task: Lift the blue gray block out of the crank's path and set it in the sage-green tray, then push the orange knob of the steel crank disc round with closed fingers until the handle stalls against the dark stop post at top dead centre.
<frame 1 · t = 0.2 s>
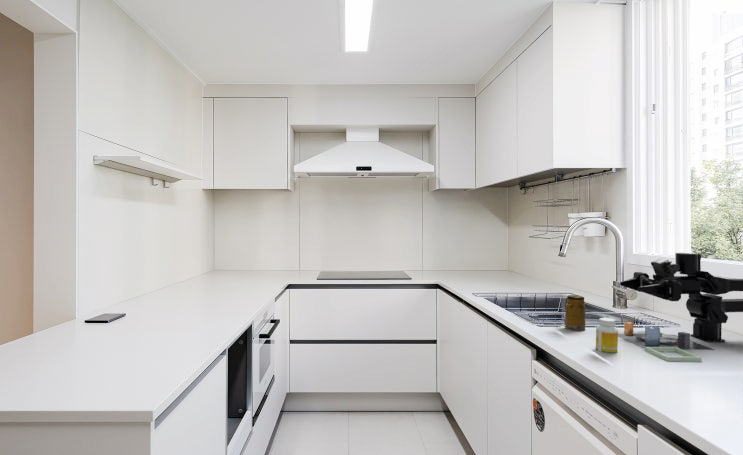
hand: (629, 286, 131), 17 cm above the countertop, tool horizontal, fingers open, 9 cm apart
blue gray block: (652, 346, 120), point 1 cm above the countertop, touching crank base
tray: (671, 358, 112), on the countertop
crank base: (656, 341, 128), on the countertop
condiment: (577, 332, 139), on the countertop
supplement bottle: (606, 353, 116), on the countertop
crank: (649, 330, 128), point 4 cm above the countertop, hinge at 0.0°
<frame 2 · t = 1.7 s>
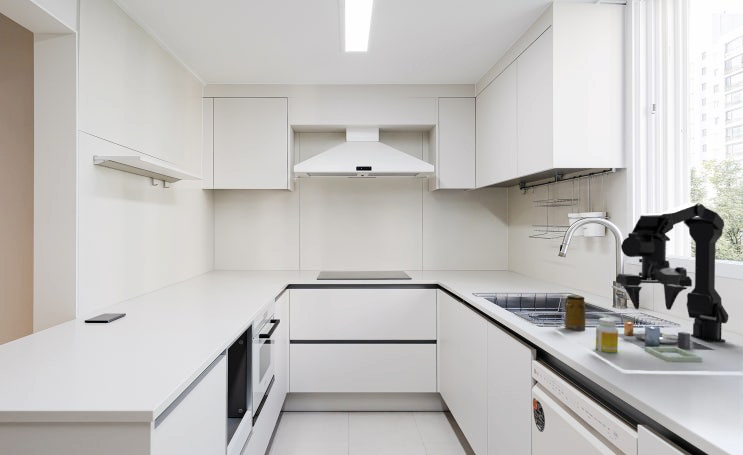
hand: (652, 309, 120), 12 cm above the countertop, tool pointing down, fingers open, 9 cm apart
nothing on the countertop moved.
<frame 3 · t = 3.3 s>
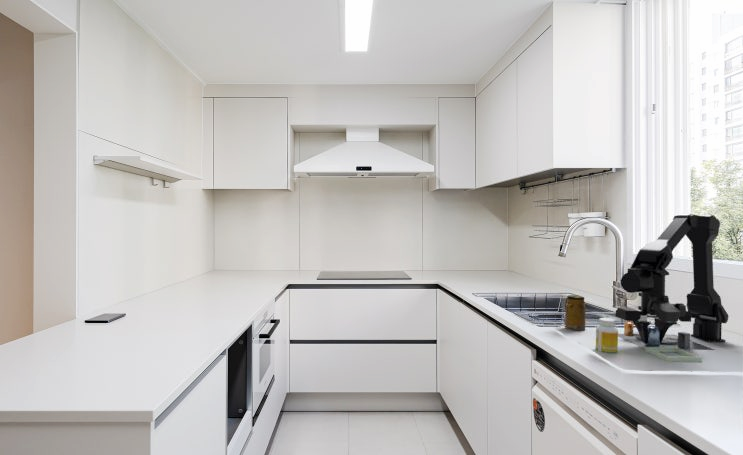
hand: (652, 343, 120), 2 cm above the countertop, tool pointing down, fingers closed on blue gray block, 4 cm apart
blue gray block: (652, 346, 120), point 1 cm above the countertop, touching crank base, gripper
everything else where it was.
when the fingers open (2 cm above the countertop, at t = 6.9 s): blue gray block drops 1 cm, resting on tray.
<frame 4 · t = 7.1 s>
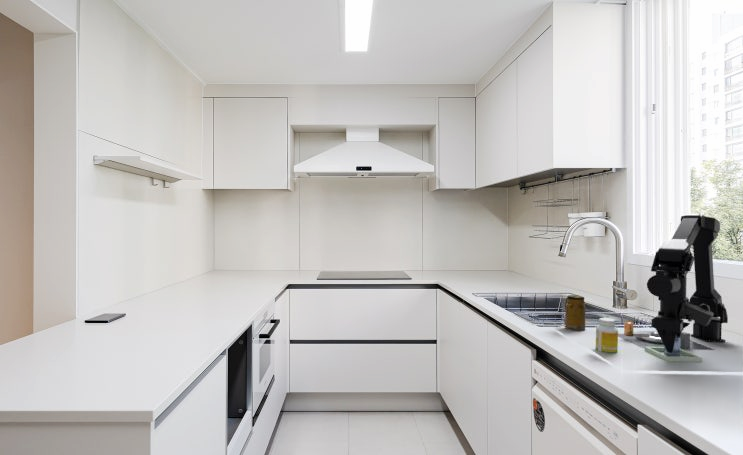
hand: (672, 350, 112), 2 cm above the countertop, tool pointing down, fingers open, 5 cm apart
blue gray block: (671, 357, 112), resting on tray
everything else where it was.
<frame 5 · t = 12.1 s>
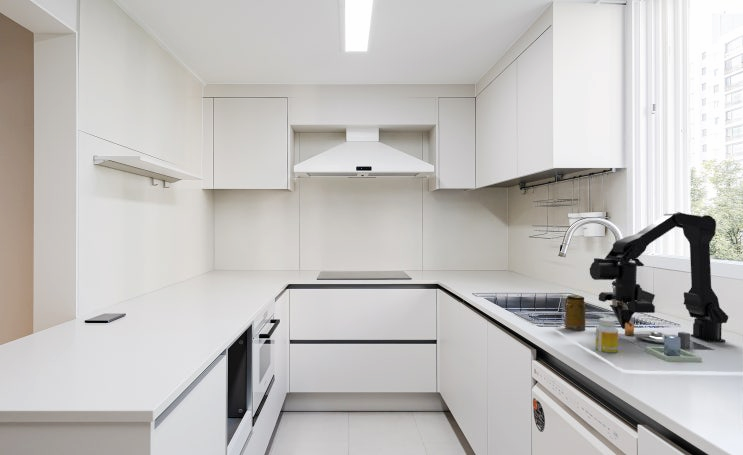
hand: (624, 328, 130), 3 cm above the countertop, tool pointing down, fingers closed
crank: (649, 330, 128), point 4 cm above the countertop, hinge at 1.8°, touching gripper
everything else where it was.
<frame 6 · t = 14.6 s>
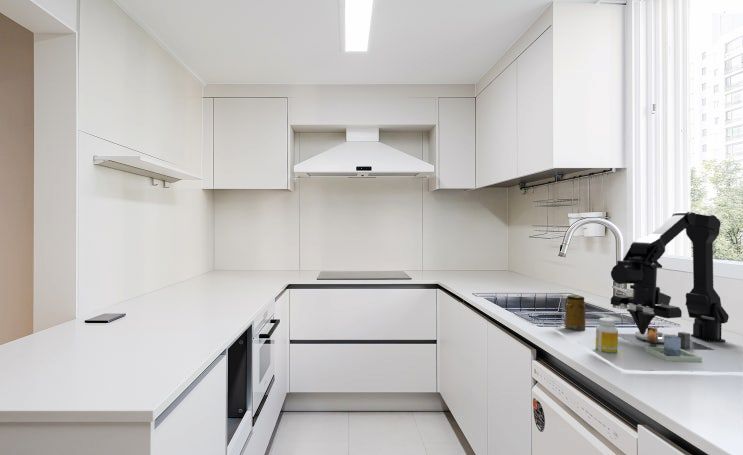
hand: (642, 334, 124), 3 cm above the countertop, tool pointing down, fingers closed
crank: (655, 332, 126), point 4 cm above the countertop, hinge at 49.4°, touching gripper
everything else where it was.
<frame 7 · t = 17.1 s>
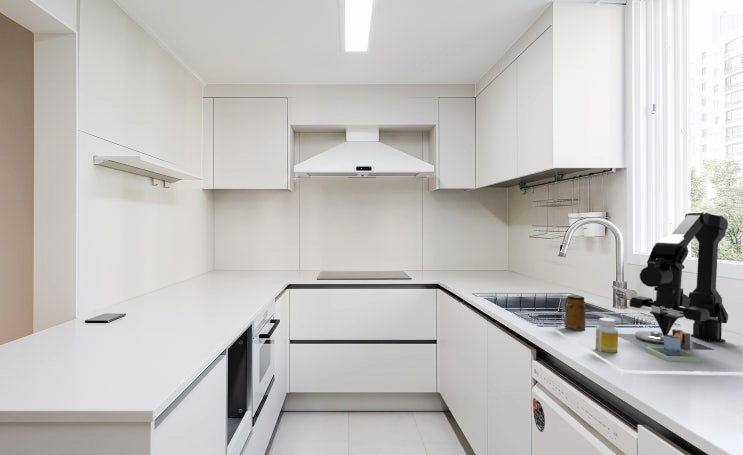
hand: (665, 336, 121), 4 cm above the countertop, tool pointing down, fingers closed
crank: (661, 332, 126), point 4 cm above the countertop, hinge at 92.0°, touching crank base, gripper
everything else where it was.
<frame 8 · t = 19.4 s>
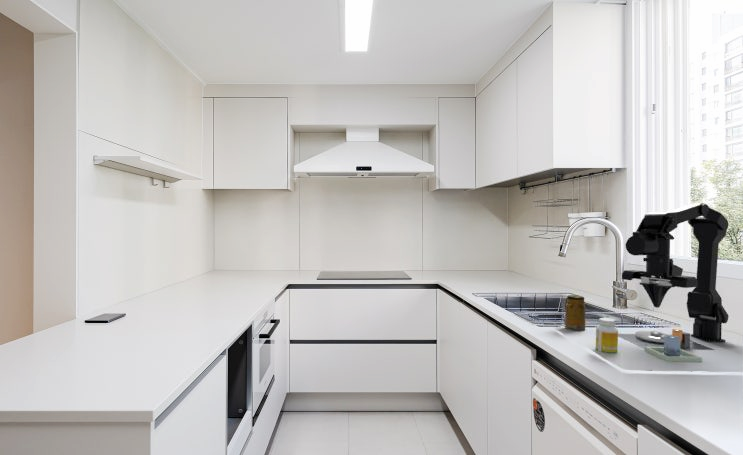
hand: (656, 307, 122), 12 cm above the countertop, tool pointing down, fingers closed
crank: (661, 332, 126), point 4 cm above the countertop, hinge at 92.0°, touching crank base
everything else where it was.
at the end: blue gray block 0.0 cm off-centre on the tray, point 0.4 cm above the tray's base; crank at +92° (first picture: +0°) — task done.
